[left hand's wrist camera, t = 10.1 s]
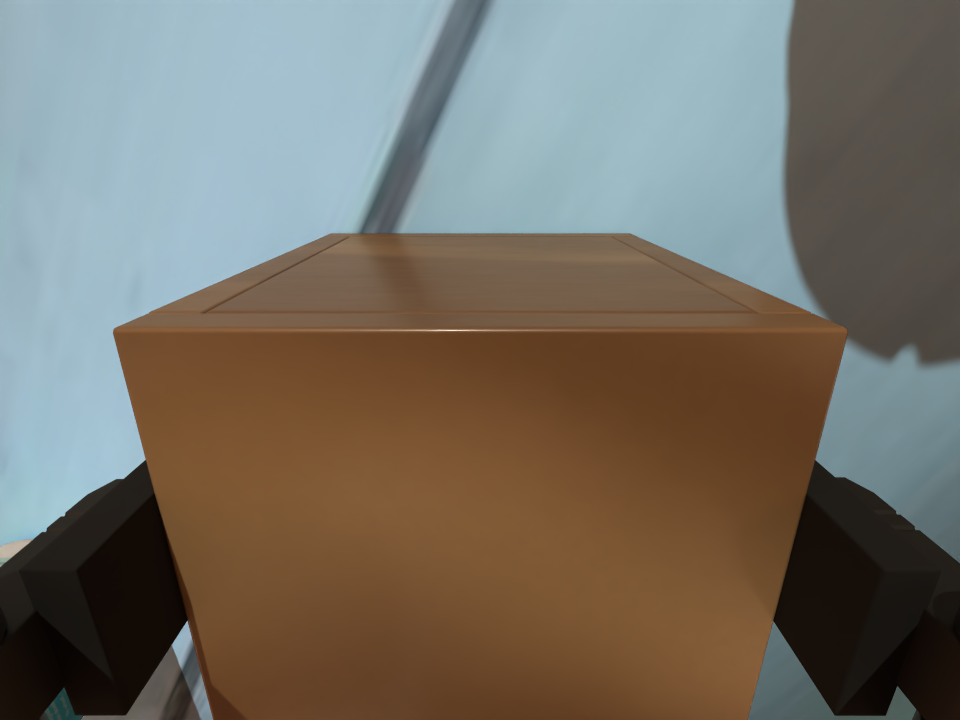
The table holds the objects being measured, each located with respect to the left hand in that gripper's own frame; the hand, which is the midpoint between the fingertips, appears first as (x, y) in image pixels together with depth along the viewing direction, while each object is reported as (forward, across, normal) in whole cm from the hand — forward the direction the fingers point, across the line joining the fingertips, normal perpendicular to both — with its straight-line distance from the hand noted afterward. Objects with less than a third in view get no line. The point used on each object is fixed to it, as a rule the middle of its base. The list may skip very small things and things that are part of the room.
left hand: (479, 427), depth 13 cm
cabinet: (+7, 0, -4) cm, 8 cm away
